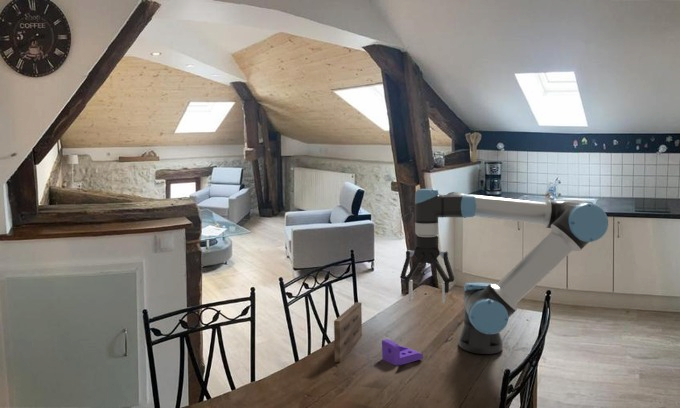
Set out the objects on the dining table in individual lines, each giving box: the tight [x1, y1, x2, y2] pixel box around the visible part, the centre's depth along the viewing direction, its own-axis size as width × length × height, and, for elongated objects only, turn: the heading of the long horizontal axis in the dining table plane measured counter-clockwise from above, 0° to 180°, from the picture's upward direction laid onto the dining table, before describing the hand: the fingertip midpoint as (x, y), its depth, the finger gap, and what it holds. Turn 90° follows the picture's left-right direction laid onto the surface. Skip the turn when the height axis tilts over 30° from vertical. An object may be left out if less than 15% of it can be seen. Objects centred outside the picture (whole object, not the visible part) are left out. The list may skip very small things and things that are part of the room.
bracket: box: [381, 338, 424, 366], centre depth 168 cm, size 12×7×7 cm, turn 122°
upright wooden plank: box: [333, 301, 363, 363], centre depth 177 cm, size 2×24×14 cm, turn 160°
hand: (427, 300), depth 166 cm, fingers open, 10 cm apart
